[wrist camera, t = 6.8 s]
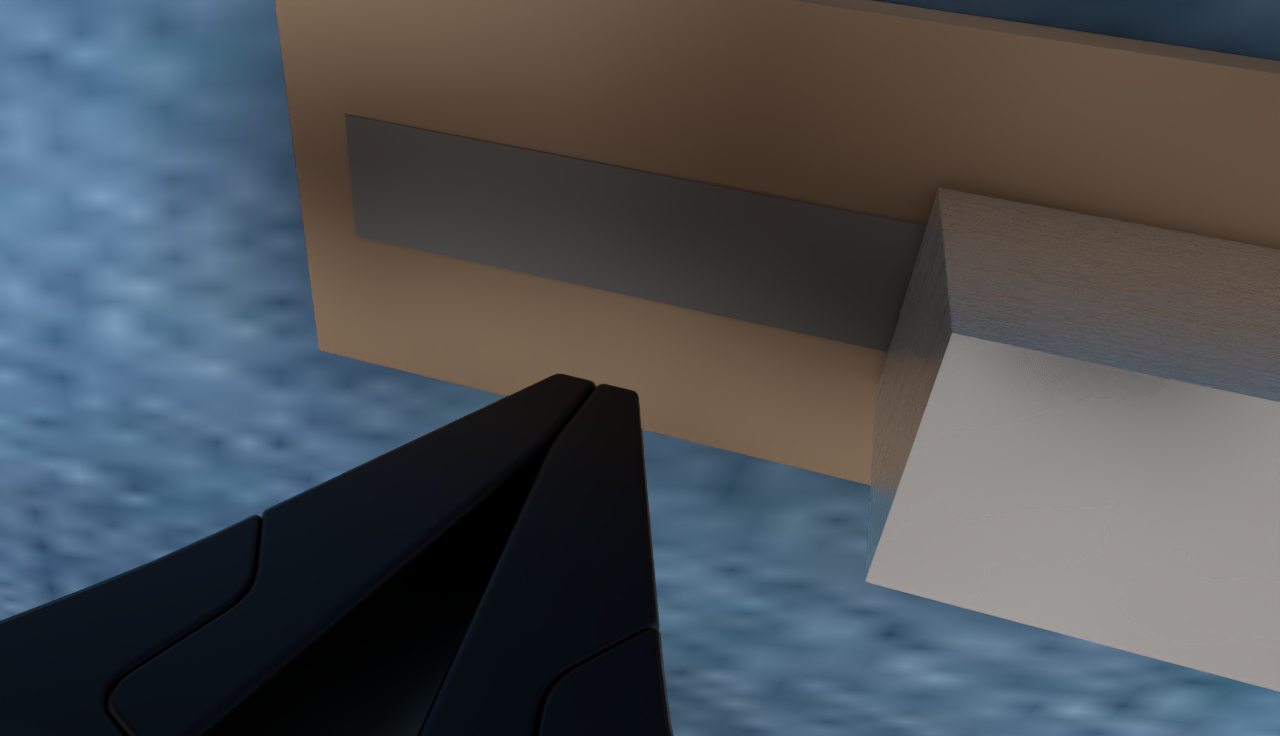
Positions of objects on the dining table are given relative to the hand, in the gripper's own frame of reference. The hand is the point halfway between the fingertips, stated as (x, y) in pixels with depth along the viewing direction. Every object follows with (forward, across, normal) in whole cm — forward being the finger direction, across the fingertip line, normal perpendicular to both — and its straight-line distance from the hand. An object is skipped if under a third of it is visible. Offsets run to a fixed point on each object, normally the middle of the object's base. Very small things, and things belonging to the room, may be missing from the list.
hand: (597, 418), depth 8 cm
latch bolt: (+4, -6, 0) cm, 7 cm away
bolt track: (+6, -2, 0) cm, 6 cm away
